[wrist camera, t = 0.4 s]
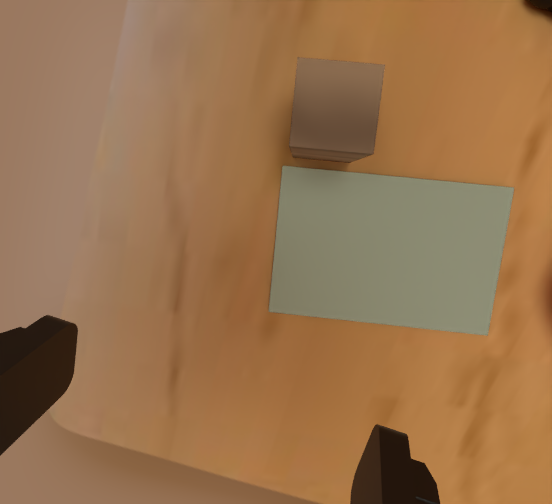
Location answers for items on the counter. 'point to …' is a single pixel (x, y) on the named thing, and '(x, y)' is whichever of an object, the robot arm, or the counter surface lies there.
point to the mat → (388, 249)
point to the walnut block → (335, 109)
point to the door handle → (542, 4)
